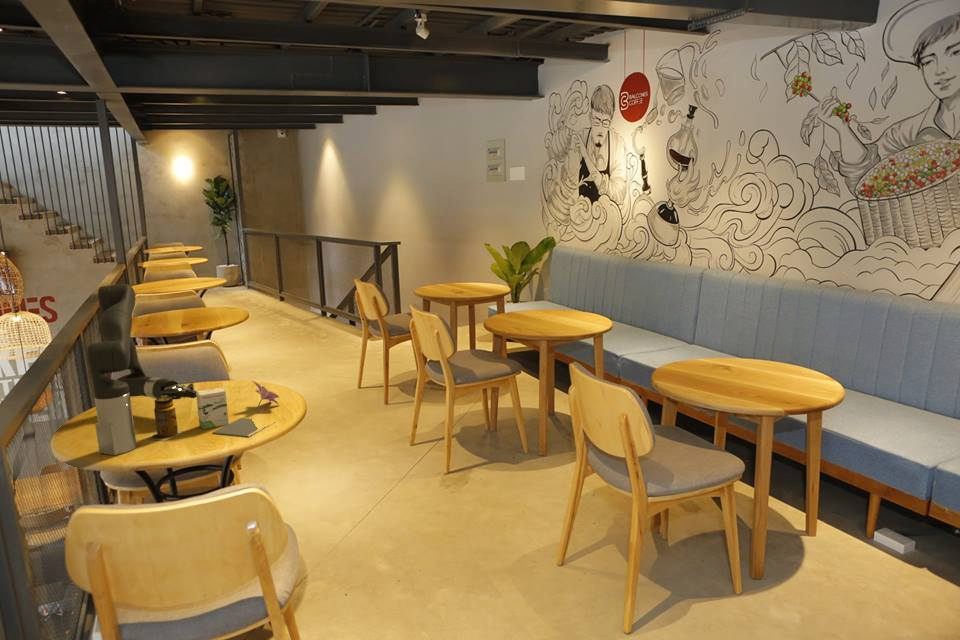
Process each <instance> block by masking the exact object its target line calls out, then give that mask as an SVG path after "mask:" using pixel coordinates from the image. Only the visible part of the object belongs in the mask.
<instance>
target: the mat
mask: <svg viewBox="0 0 960 640" xmlns="http://www.w3.org/2000/svg"><path fill="white" fill-rule="evenodd" d="M252 419H253V418H247V417H239V418H238V419H235V420H234V421H232V422H229V424H228V425H223V426H221V427H220V428H218V429H217V430H214V431H213V432H212V434H213V435H221V436H223V435H224V436H232V437H233V436H234V437H241V438H242V437H243V438H251V437H252V435H253V434H254V435H256V434H257V433H256V432H257V431H259V430H260V429H258V428H257V427H256V426H255V424H254V422H253V421H252ZM265 427H266V426H265ZM262 428H263V427H262ZM257 429H258V430H257ZM255 433H256V434H255ZM254 435H253V436H254ZM250 436H251V437H250Z"/></svg>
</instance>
